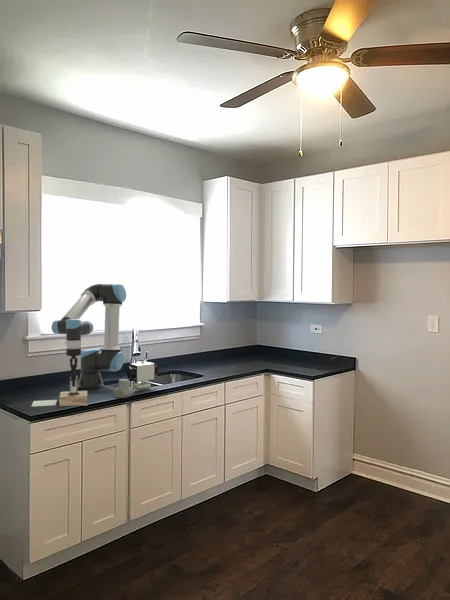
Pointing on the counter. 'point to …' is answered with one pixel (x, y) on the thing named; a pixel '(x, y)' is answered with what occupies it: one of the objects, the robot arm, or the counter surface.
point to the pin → (76, 387)
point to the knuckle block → (73, 399)
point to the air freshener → (123, 389)
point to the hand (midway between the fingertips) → (73, 390)
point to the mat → (44, 403)
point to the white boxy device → (142, 374)
